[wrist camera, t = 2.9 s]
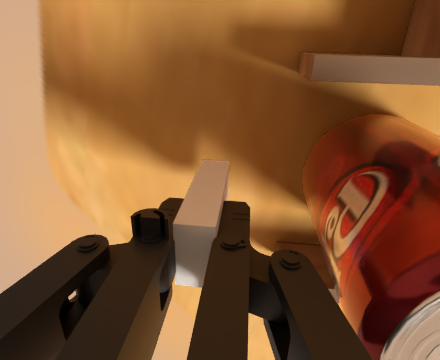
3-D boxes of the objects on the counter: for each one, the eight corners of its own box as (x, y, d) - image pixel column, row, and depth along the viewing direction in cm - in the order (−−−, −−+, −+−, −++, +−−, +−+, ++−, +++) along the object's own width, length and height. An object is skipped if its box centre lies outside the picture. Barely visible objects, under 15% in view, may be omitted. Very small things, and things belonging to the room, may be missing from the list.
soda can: (318, 236, 20) (395, 464, 9) (284, 139, 18) (332, 293, 7) (437, 204, 18) (706, 439, 7) (417, 90, 16) (778, 192, 5)
